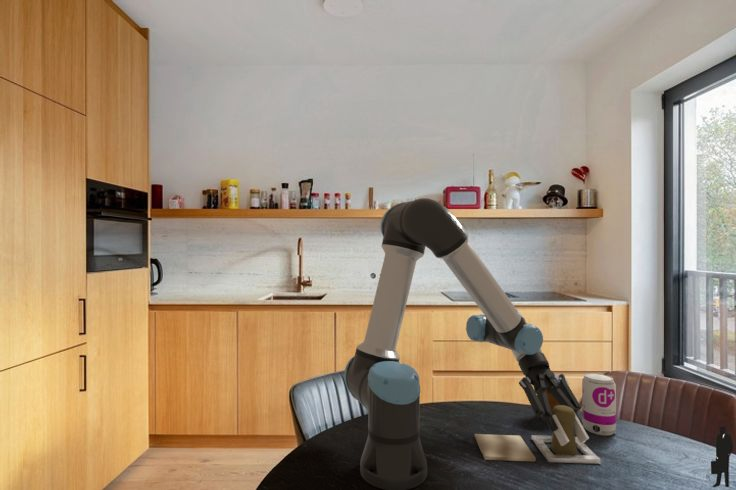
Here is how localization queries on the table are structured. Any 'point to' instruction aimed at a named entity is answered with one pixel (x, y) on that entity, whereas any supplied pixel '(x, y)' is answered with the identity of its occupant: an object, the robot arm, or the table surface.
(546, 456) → the shaker dock
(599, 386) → the supplement can
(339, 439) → the table surface
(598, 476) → the table surface
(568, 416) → the cork
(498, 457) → the birch board
